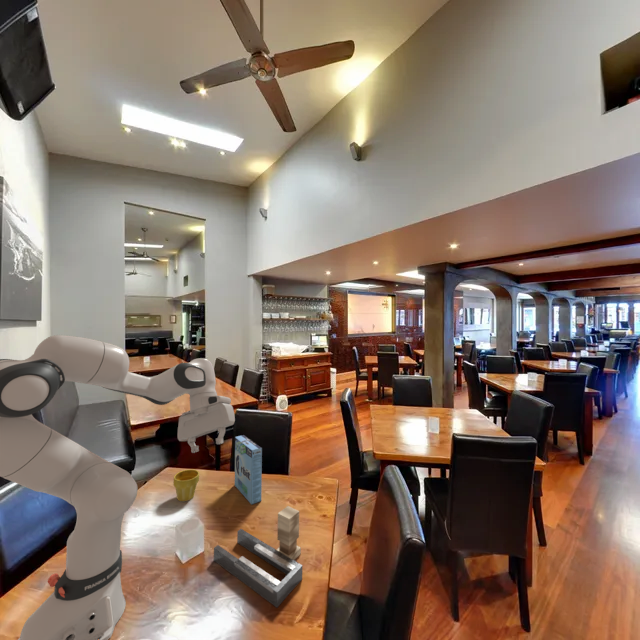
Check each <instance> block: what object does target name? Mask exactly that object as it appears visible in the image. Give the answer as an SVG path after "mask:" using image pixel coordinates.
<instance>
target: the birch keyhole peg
mask: <svg viewBox="0 0 640 640" xmlns="http://www.w3.org/2000/svg"><path fill="white" fill-rule="evenodd" d="M299 538H300V510H298V509H296V508H293V507H292V506H289V505H287V506H286V507H285V508H283V509H282V510H280V511H279V512H277V538H276V539H277V541H279V546H278V548H277V549H276V550H277V551H279V552H281V553H282V554H284V555H286V556H287V557H289V558H291V559H293V560H294V561H296V559H297V558H299V556H300V555H301V553H302V552H301V551H302V549H301V547H300V546H298V543H297V541H298V539H299Z"/></svg>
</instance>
